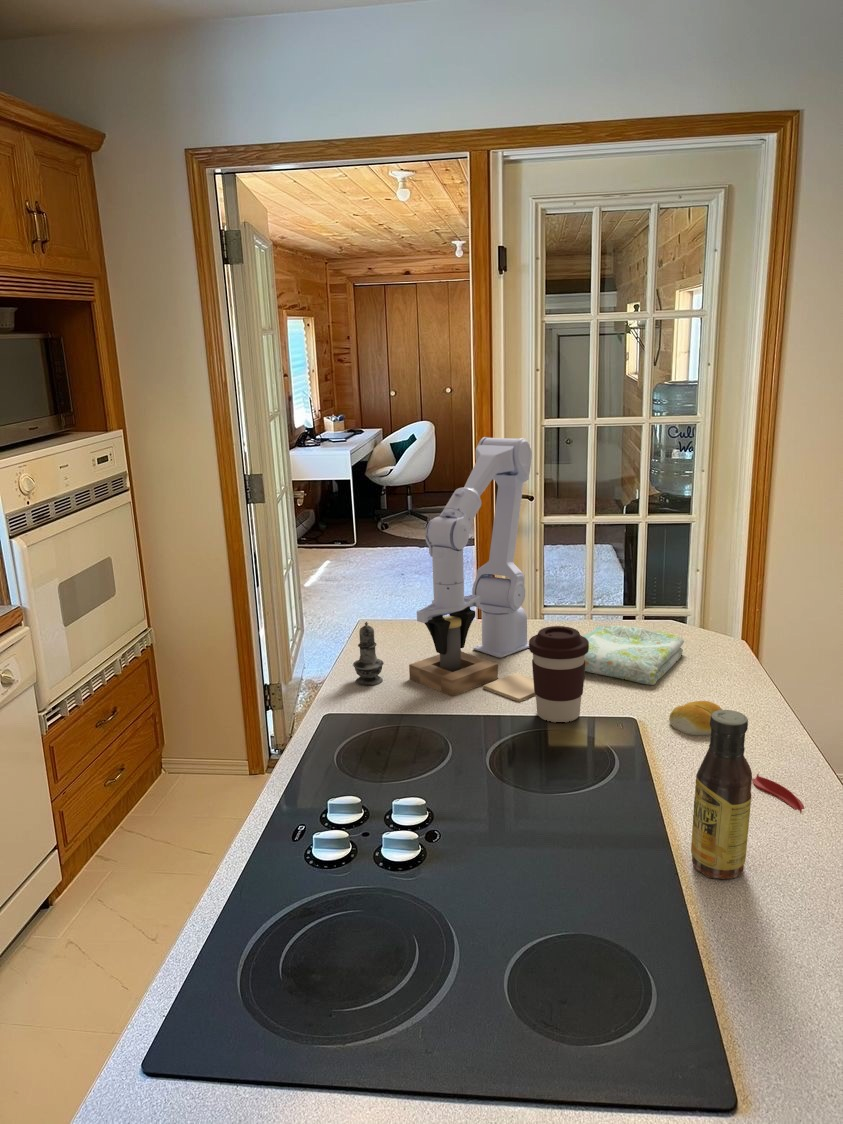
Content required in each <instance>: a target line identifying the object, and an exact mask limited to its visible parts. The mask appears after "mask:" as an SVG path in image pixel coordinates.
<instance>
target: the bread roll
mask: <svg viewBox="0 0 843 1124" xmlns="http://www.w3.org/2000/svg"><path fill="white" fill-rule="evenodd" d="M718 710H724V709H723V708H721V706H719V705H718V704H716V703H715V702H712V701H708V700H699V701H692V702H691V701H690V702H687V703H686V704H683V705H678V706H676V707H674V708H673V709H672V711H671V712H670V714H669V715H668V717H669V719H668V721H669V723H670V725H671V726H672V727H673V728H674V729H676V730H678V731H679V732H681V733H683V734H686V735H690V736H708V735H709V736H710V735H711V727H710V718H711V715H712V713H713V712H715V711H718Z"/></svg>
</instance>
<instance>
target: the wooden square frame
mask: <svg viewBox="0 0 843 1124" xmlns="http://www.w3.org/2000/svg"><path fill="white" fill-rule="evenodd" d="M498 665H499V663H497V662H493V661H491V660H488V659H485V658H482V657H478V656H476V655H473V654H470V653H467V652H464V651H461V669H460V670H457V671H455V672H451V671H448V670H445V669H443V668H440V653H438V654H436V655H432V656H431V657H427V658H424V659H421V660H418V661H416V662H413V663H410V664H408V667H409V670H408V671H409V674H408V675H409V680H411V681H413V682H416V683H418V684H421V685H423V686H426V687H428V688H431V689H433V690H435V691H436V690H437V691H439V692H440V693H441V692H442V693H443V694H446V695H449V696H451V697H454V696H456V695H458V694H461V693H464V692H467V691H469V690H471V689H472V690H473V689H475V688H478V687H480V686H483V685H486V684H488V683H491V682H494V681H496V680H499V670H498V669H499V666H498Z"/></svg>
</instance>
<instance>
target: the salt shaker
mask: <svg viewBox="0 0 843 1124" xmlns="http://www.w3.org/2000/svg"><path fill="white" fill-rule="evenodd" d="M368 624H369V623H368V622H367V621H365V623H364V625H363V626H362V627H360V629H359V634H358V635H359V643H358V645H357V647H359V658H358V660H356V661H354V662H353V663H352V666H353V668H354V670H355V672H356V674H357V675H358V676H359V677H357V678H356V679H355V684H356V685H358V686H361V687H374V686H377V685H380V684H381V683H383V681H384V679H383V677H382V676H380V674H381V672H382V669H383V666H384V663H385V662H384V661H383V660H382V659H379V658H378V657H377V654H376V647H377V642H375V629H374V628H373V626H370V625H368Z"/></svg>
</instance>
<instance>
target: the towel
mask: <svg viewBox="0 0 843 1124" xmlns="http://www.w3.org/2000/svg"><path fill="white" fill-rule="evenodd" d="M582 636H583V637H585V638H586V639H587V640H588V642H589V651H588V653H586V654H585V658H584V660H585V672H588V673H592V674H595V675H601V676H606V677H609V678H616V679H621V680H624V679H625V681H630V682H635V683H640V684H643V685H649V686H655V685H656V683H658V681H659V680H661V678H662V677H663V676H664V675H665V674H666V673H668V671H669V670H670V669H671V668H673V666H674V665H675V664H676V663H677V662H678V661H679V660H680V658H681V657H682V656H681V655H683V653H684V650H683V648H682V646H683V645H684V642H685V640H684V639H683V638H682V637H681V636H679V634H676V633H672V632H666V631H662V630H654V629H650V628H643V627H637V626H627V625H599V626H597V627H595V628H594V629H593V630H592V631H590V632H588V633H587V634H584V635H582ZM676 661H677V662H676Z"/></svg>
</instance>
